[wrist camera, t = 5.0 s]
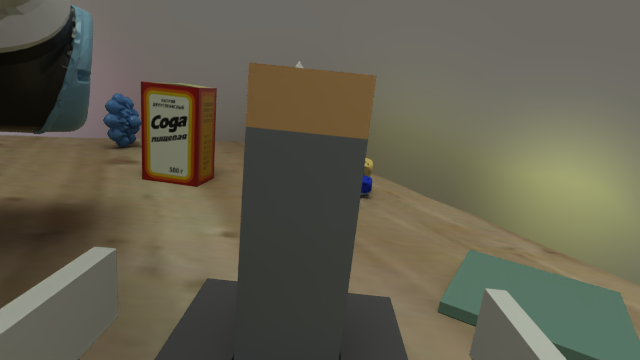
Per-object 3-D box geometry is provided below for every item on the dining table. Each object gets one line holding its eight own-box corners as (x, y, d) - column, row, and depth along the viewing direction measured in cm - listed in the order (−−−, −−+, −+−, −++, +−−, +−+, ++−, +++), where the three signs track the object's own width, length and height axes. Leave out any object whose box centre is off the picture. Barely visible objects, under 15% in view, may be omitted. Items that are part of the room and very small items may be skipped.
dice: (370, 200, 62) (375, 163, 61) (354, 199, 62) (359, 161, 61) (366, 188, 70) (370, 155, 68) (352, 186, 70) (356, 153, 68)
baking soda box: (142, 179, 61) (140, 78, 57) (163, 171, 67) (163, 80, 63) (196, 186, 60) (199, 85, 56) (213, 177, 66) (216, 86, 62)
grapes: (128, 153, 78) (126, 95, 75) (96, 150, 78) (93, 92, 75) (154, 145, 89) (153, 94, 87) (126, 142, 89) (125, 91, 87)
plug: (229, 432, 19) (249, 62, 14) (250, 361, 24) (269, 69, 19) (327, 442, 19) (376, 75, 14) (328, 369, 24) (364, 79, 19)
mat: (438, 311, 31) (440, 301, 31) (468, 257, 43) (469, 249, 43) (649, 392, 25) (654, 379, 24) (616, 301, 36) (619, 292, 36)
